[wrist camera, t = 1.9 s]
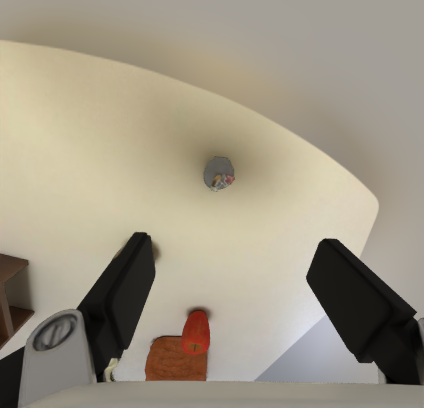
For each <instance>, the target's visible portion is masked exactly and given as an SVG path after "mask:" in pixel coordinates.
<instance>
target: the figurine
mask: <svg viewBox="0 0 424 408" xmlns="http://www.w3.org/2000/svg"><path fill="white" fill-rule="evenodd" d="M234 180H235V177H234V170H233V167H232V165H231V163H230V161H229V160H228V159H227V158H224V157H213V158H212V159H211V161H210V162H209V163H208V165H207V166H206V168H205V171H204V181H205V184H206V185H207V186H208V187H209V188H210V190H211V191H214V192H217V191H218V190H219V189H223V188H225V187H227V186H228V185H230V184H231V183H232V182H233V181H234Z"/></svg>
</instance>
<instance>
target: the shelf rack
mask: <svg viewBox="0 0 424 408" xmlns="http://www.w3.org/2000/svg"><path fill="white" fill-rule="evenodd" d="M27 265H28V260H24V259H19V258H15V257H11V256H7V255H3V254H0V350H1V348H2V347H3V346H4V345H5V344H6V343H7V342H8V341H9V340H10V339H11V338H12V337H13V336H14V335H15V334H16V332H17V331H18V330H19V329H20V328H21V327H22V326H23V325H24V324H25V323H26V322H27V321H28V320H29V319H30V318H31V316H32V315H33V314H34V311H31V310H26V309H21V308H16V307H11V306H8V302H7V298H6V293H5V288H4V284H3V283H4V282H6V281H7V280H8V279H9V278H11V277H12V276H13V275H15V274H16V273H17V272H19V271H20V270H21V269H23V268H24V267H25V266H27Z"/></svg>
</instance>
